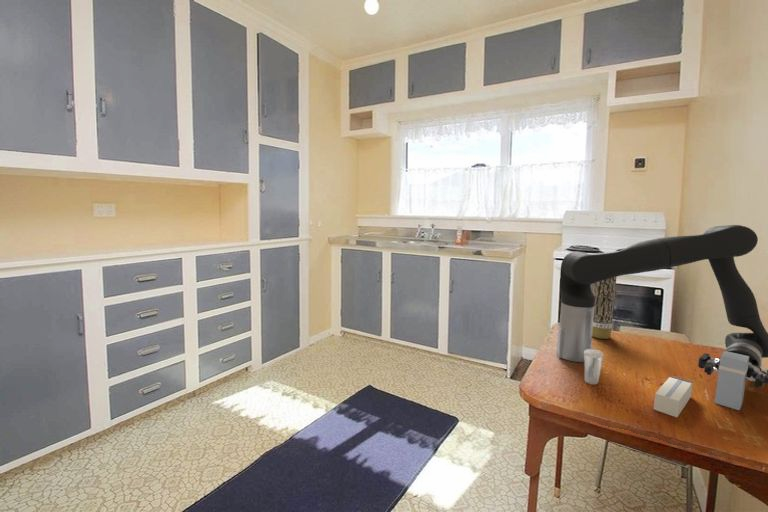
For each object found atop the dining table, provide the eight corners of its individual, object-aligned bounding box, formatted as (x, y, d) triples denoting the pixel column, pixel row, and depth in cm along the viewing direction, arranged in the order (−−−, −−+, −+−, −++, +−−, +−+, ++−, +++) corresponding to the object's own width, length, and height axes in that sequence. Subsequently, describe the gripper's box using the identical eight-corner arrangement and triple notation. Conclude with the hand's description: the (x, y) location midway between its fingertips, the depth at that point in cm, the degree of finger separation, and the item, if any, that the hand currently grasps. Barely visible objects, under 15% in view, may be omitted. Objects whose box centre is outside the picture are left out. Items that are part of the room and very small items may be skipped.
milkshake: (598, 378, 105) (601, 343, 103) (602, 387, 100) (605, 350, 98) (579, 375, 106) (582, 341, 105) (583, 384, 101) (586, 348, 100)
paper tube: (585, 333, 141) (590, 267, 138) (602, 333, 142) (608, 267, 138) (597, 340, 135) (603, 270, 131) (615, 339, 135) (621, 270, 132)
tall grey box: (717, 396, 95) (724, 350, 94) (742, 403, 92) (749, 356, 90) (714, 402, 92) (720, 356, 90) (739, 410, 89) (746, 362, 87)
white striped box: (669, 389, 98) (671, 374, 98) (691, 396, 95) (693, 380, 95) (653, 409, 89) (655, 392, 88) (677, 417, 86) (679, 400, 85)
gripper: (708, 338, 106) (696, 353, 95) (781, 354, 95) (777, 372, 85) (705, 364, 107) (692, 381, 96) (777, 382, 96) (772, 403, 86)
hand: (732, 377), depth 90 cm, fingers open, 8 cm apart
